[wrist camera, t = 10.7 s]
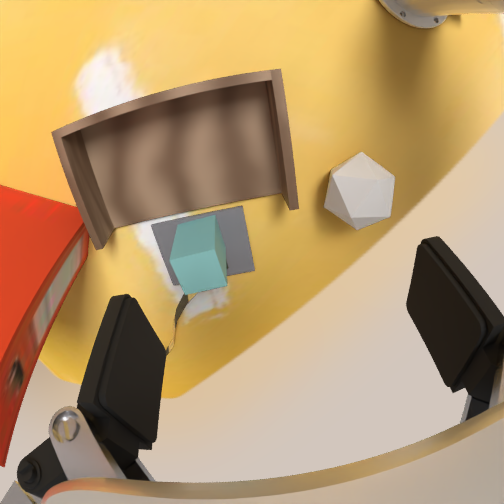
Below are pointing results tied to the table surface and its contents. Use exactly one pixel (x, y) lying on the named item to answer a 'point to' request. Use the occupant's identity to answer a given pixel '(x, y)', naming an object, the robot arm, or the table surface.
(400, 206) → the table surface
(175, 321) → the curved strip
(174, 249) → the teal block
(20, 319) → the file binder
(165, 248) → the mat
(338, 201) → the die
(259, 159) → the open box
